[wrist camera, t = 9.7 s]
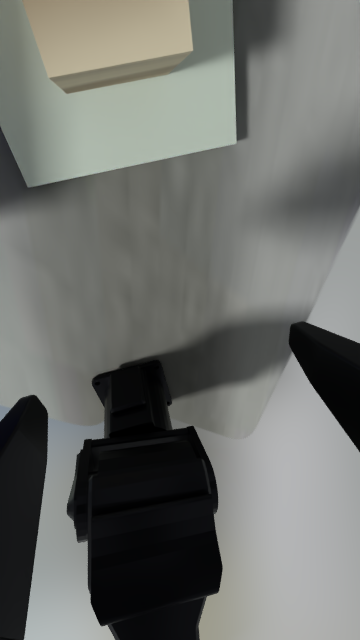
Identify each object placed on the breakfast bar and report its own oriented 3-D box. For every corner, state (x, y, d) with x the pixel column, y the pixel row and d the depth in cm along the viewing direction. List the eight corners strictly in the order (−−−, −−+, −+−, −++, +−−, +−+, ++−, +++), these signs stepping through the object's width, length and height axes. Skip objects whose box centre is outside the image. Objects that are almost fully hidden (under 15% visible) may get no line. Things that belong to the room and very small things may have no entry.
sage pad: (230, 143, 16) (236, 143, 16) (32, 184, 16) (28, 187, 15) (214, -266, 9) (223, -304, 9) (-155, -235, 8) (-182, -273, 8)
